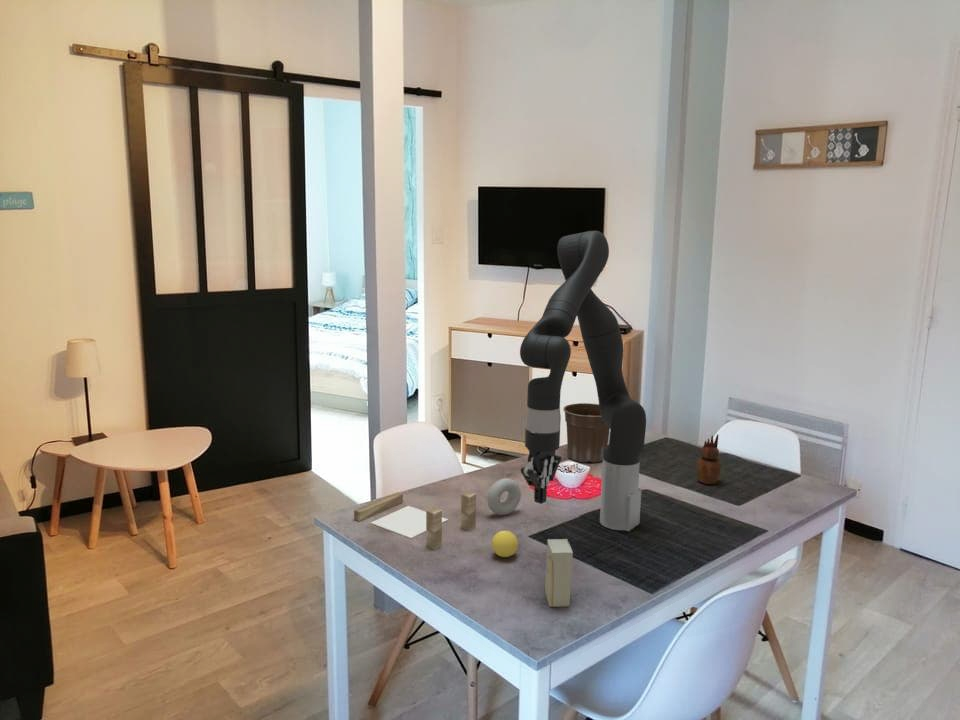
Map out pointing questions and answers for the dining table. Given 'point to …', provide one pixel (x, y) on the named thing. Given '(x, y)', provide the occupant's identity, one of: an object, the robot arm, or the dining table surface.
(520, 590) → the dining table surface
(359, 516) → the wall
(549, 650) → the dining table surface
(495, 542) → the ball
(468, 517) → the post right
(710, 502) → the dining table surface
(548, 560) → the skincare box
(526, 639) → the dining table surface
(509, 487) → the donut
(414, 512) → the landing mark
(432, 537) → the post left
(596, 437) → the plant pot
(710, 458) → the wooden figurine
